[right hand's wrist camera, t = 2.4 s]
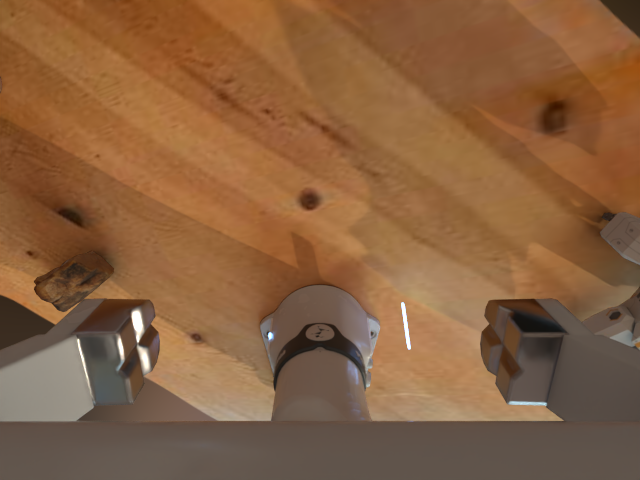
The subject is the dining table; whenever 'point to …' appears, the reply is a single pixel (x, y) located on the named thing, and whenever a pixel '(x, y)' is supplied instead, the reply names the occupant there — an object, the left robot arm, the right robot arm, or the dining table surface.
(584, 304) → the dining table surface
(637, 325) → the robot
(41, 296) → the decorative rock
